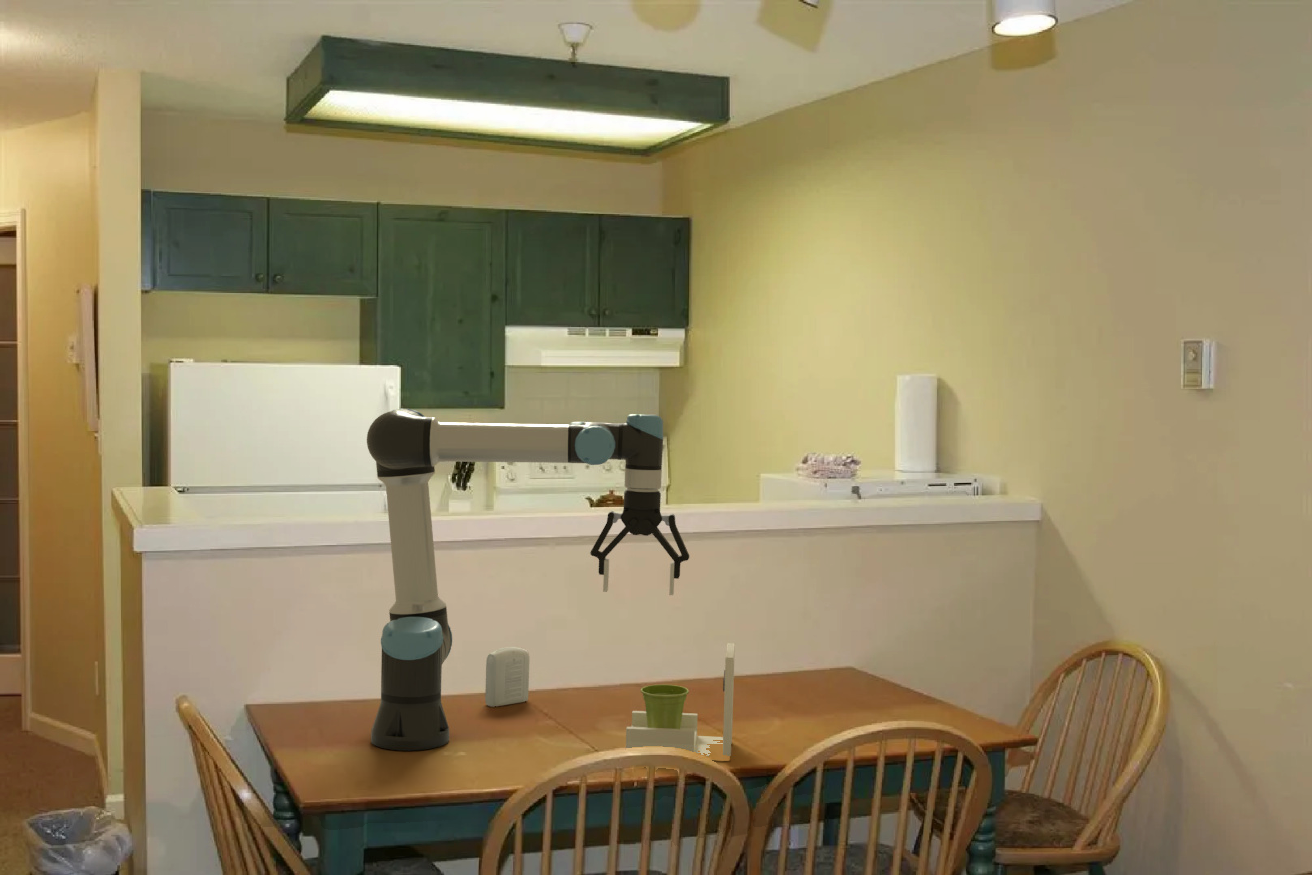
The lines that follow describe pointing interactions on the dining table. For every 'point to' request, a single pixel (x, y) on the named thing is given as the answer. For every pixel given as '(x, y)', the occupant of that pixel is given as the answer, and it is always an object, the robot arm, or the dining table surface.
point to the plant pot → (664, 705)
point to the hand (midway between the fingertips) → (638, 592)
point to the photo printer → (507, 676)
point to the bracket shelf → (687, 723)
